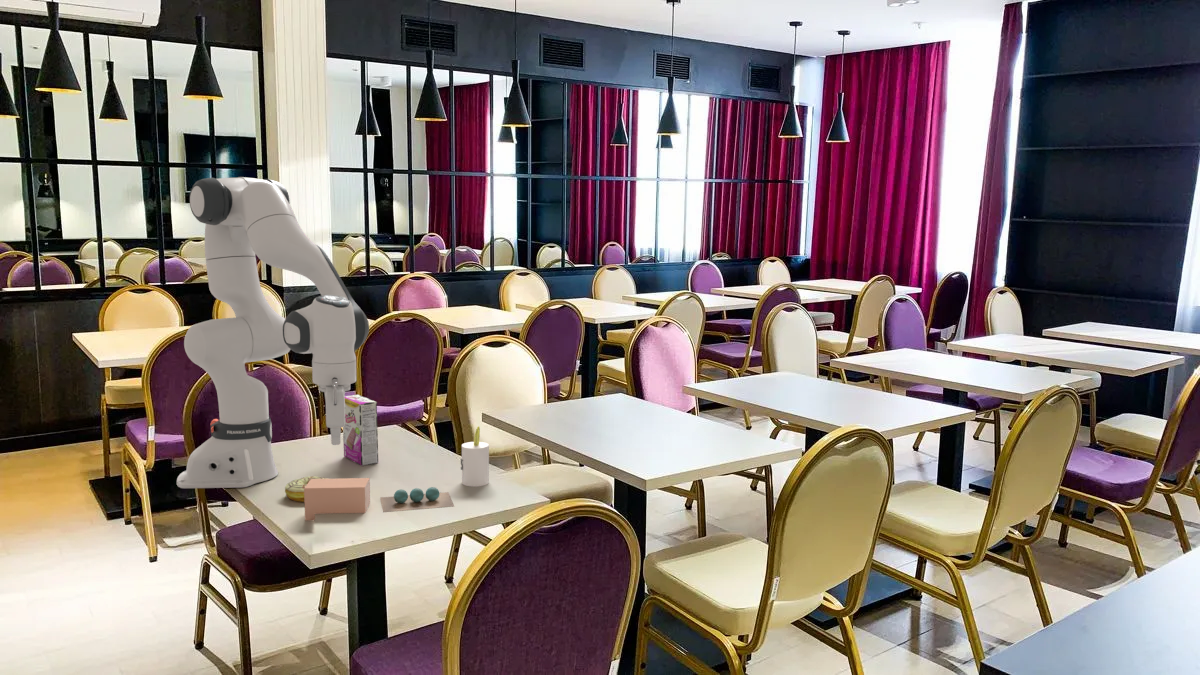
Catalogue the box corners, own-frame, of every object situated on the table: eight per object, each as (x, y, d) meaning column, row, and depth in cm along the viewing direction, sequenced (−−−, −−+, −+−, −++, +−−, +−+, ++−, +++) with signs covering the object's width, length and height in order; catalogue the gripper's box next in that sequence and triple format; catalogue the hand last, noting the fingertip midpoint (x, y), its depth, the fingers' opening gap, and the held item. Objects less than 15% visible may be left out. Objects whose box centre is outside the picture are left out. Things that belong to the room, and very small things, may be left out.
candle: (458, 485, 211) (458, 424, 209) (485, 483, 213) (485, 422, 211) (463, 493, 205) (463, 430, 203) (491, 491, 208) (491, 428, 206)
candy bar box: (342, 457, 234) (340, 396, 232) (360, 454, 237) (358, 394, 235) (361, 466, 226) (359, 403, 223) (379, 463, 229) (378, 401, 227)
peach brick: (305, 520, 186) (304, 488, 185) (312, 510, 193) (311, 478, 192) (365, 519, 187) (364, 487, 186) (370, 509, 194) (369, 477, 193)
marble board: (383, 518, 188) (382, 498, 187) (380, 504, 197) (380, 484, 197) (454, 512, 192) (454, 492, 192) (448, 498, 202) (448, 479, 201)
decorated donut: (339, 489, 208) (339, 473, 208) (327, 504, 197) (326, 487, 197) (294, 489, 208) (293, 473, 207) (279, 504, 197) (278, 487, 197)
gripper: (351, 383, 177) (352, 450, 179) (349, 364, 196) (350, 425, 198) (318, 384, 175) (319, 452, 177) (319, 365, 194) (320, 427, 196)
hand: (335, 438), depth 188 cm, fingers open, 8 cm apart
